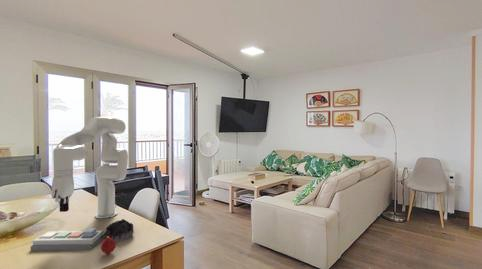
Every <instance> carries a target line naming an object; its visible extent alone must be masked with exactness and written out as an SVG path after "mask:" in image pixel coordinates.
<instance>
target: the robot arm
mask: <svg viewBox="0 0 482 269" xmlns="http://www.w3.org/2000/svg"><path fill="white" fill-rule="evenodd" d="M126 129H127V128H126V123H125V122H124V121H123V120H121V119H119V118H116V117H111V116H94V117H91V119H89V120H88V122H87V123H86V124H85V126H83V127H82V129H80V130H79V131H77V132H75V133H73V134H70V135H68V136H66V137H65V138H64V139H61V141H60V142H59V143H58V144H57V145H56V147H55V148H54V149H53V151H52V154H53V155H52V157H53V158H52V159H53V160H52V162H53V163H52V164H53V166H52V167H53V177H52V182H51V199H54V202H55V203H58V204H59V212H60V213H63V212H65V213H66V212H68V211H69V209H70V207H69V206H70V203H69V202H70V198H71V197H72V196H73V194H74V192H75V181H74V164H73V162H75V161H82V160H84V159H86V157H87V156H88V154H89V153H88V149H87V148H86V147H85V146H83V145H87V144H90V143H93V142H95V141H96V140H97V139H98V137H99V136H100V137H101V142H102V143H101V151H100V161H101V162H102V163H104V164H105V165H99V166H98V167H97V168H96V170H95V177H96V183H97V184H96V185H97V212H96V213H95V214H94V218H96V219H109V217H110V218H113V217H116V216H118V214H117V213H118V211H117V210H116V208H117V204H116V193H115V192H116V186H115V184H114V182H113V181H123V180H124V181H125V179H126V177H127V171H128V163H129V154H128V153H129V152H128V150H127V149H125V148H123V147H122V148H121V147H119V148H118V147H117V146H118V139H117V137H116V136H115V135H116V134H117V135H118V134H119V135H121V134H123V133H124V132H125V131H126ZM114 134H115V135H114ZM107 164H108V165H107ZM109 164H111V165H109ZM113 164H115V165H113ZM115 215H116V216H115Z"/></svg>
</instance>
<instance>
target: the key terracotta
mask: <svg viewBox="0 0 482 269" xmlns="http://www.w3.org/2000/svg"><path fill="white" fill-rule="evenodd" d="M82 235H83V232H74V233H73V234H71V235H70V236H69V238H79V237H81V236H82Z"/></svg>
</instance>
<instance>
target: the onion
mask: <svg viewBox="0 0 482 269" xmlns="http://www.w3.org/2000/svg"><path fill="white" fill-rule="evenodd" d="M116 243H117V242H115V241H114V240H113V239H112V238H110V237H109V236H107V238H106V239H105V238H104V240H103V241H102V242H101V244H100V250H101V252H102V253H104V254H106V255H110V254H111V253H113V252H114V251H115V249H116V246H117V245H116Z"/></svg>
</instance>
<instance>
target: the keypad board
mask: <svg viewBox="0 0 482 269" xmlns="http://www.w3.org/2000/svg"><path fill="white" fill-rule="evenodd" d="M83 231H84V230H48V231H46V232H45V233H43V234H42V235H40V236H37V238H35V239H33V240H32V245H30V251H31V252H32V251H33V252H34V251H35V252H36V251H37V252H39V251H81V250H83V251H84V250H86V251H88V250H92V249H93V248H94V247H95V246H96V245H97V244H98V243H100V242H101V241H102V240H103V239H105V236H104V234H105V232H104V230H103V229H102V230H97V233H96V234H95V235H94V236H92V237H83V235H82V236H81V237H79V238H69V236H70V235H71V234H73V233H74V232H83ZM61 232H70V235H69V236H67V237H66V238H55V236H56V235H55V236H54V237H52V238H48V239H41V236H43V235H45V234H46V233H57V235H58V234H60V233H61Z"/></svg>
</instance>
